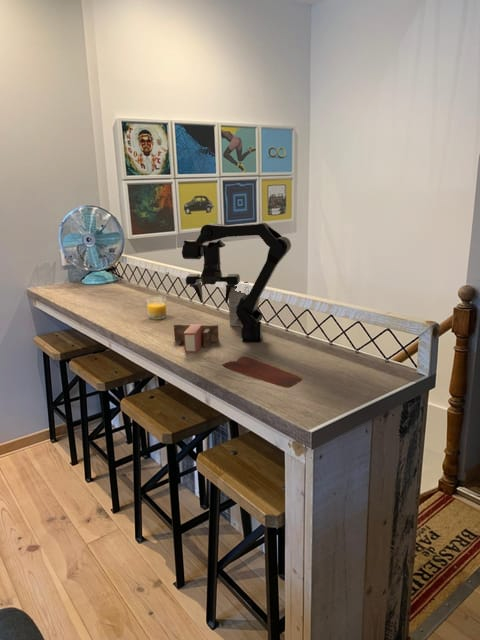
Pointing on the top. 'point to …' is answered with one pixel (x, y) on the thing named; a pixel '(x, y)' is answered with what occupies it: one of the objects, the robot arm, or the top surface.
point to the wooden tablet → (263, 371)
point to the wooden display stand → (208, 332)
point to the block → (193, 338)
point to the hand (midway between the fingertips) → (214, 302)
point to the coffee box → (234, 306)
